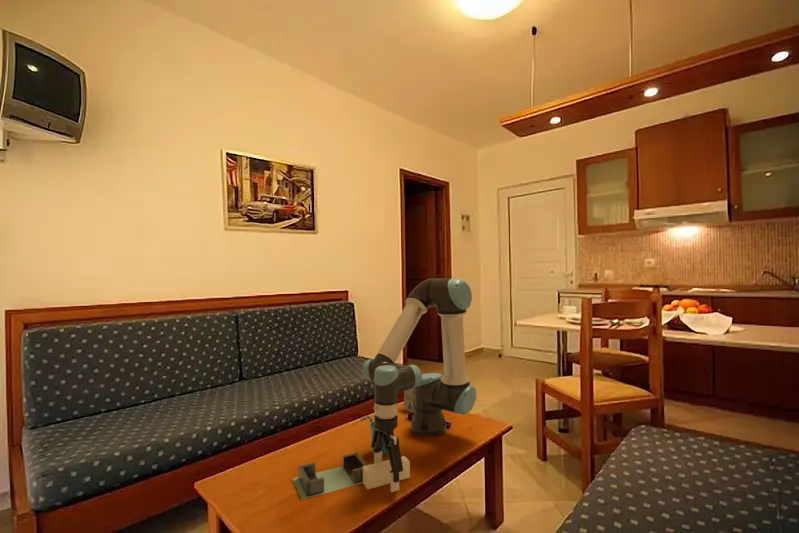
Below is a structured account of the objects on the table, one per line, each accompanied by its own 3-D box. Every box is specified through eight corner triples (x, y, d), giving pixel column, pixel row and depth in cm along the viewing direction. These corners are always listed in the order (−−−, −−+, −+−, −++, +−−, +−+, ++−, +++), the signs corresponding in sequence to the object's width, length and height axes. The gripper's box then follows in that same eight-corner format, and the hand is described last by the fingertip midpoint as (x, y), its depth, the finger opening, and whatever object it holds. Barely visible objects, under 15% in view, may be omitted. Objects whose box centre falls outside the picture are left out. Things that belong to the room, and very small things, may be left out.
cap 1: (306, 496, 120) (306, 483, 120) (298, 478, 130) (298, 466, 130) (324, 492, 122) (324, 479, 122) (314, 474, 132) (314, 462, 132)
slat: (404, 473, 134) (404, 455, 134) (409, 479, 130) (409, 461, 130) (362, 485, 127) (362, 466, 127) (367, 491, 123) (367, 472, 123)
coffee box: (415, 404, 198) (415, 372, 197) (425, 407, 193) (425, 375, 193) (403, 409, 191) (403, 376, 191) (413, 413, 186) (413, 379, 186)
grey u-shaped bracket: (357, 463, 139) (357, 452, 139) (369, 479, 129) (369, 467, 129) (342, 467, 137) (342, 455, 137) (354, 483, 126) (354, 471, 126)
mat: (361, 462, 141) (361, 461, 141) (375, 480, 129) (375, 479, 129) (292, 479, 130) (292, 478, 130) (301, 501, 118) (301, 499, 118)
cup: (366, 463, 140) (365, 421, 140) (356, 454, 147) (355, 414, 147) (399, 452, 148) (398, 412, 148) (388, 444, 154) (388, 406, 154)
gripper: (361, 404, 137) (361, 466, 138) (391, 431, 116) (392, 504, 116) (381, 401, 141) (381, 461, 141) (414, 426, 119) (414, 497, 119)
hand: (386, 481), depth 128 cm, fingers open, 12 cm apart
